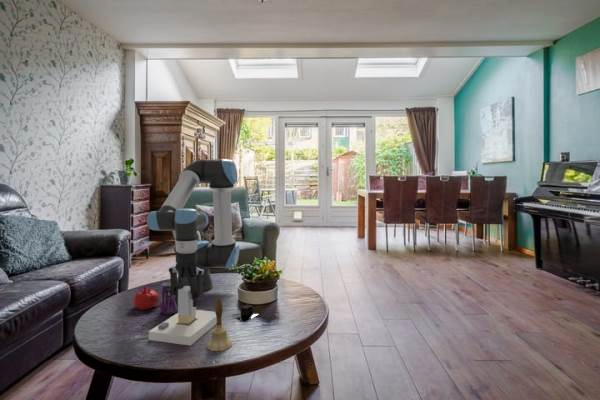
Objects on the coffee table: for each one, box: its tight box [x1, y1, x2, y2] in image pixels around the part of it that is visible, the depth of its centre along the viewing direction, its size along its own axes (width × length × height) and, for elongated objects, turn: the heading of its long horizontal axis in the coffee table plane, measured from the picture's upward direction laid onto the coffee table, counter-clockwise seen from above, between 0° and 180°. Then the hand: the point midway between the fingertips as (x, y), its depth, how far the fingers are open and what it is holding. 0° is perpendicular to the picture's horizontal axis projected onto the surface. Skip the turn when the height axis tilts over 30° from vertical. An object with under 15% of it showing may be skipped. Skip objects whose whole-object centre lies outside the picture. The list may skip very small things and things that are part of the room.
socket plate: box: [148, 309, 217, 347], centre depth 129 cm, size 22×16×4 cm
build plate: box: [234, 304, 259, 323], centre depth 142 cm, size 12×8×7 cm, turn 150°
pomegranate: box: [132, 286, 160, 311], centre depth 151 cm, size 10×10×9 cm
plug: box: [177, 286, 196, 324], centre depth 129 cm, size 5×4×12 cm
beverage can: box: [160, 280, 178, 315], centre depth 146 cm, size 7×7×12 cm
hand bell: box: [206, 297, 233, 352], centre depth 117 cm, size 8×8×16 cm
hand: (187, 314), depth 129 cm, fingers open, 4 cm apart
